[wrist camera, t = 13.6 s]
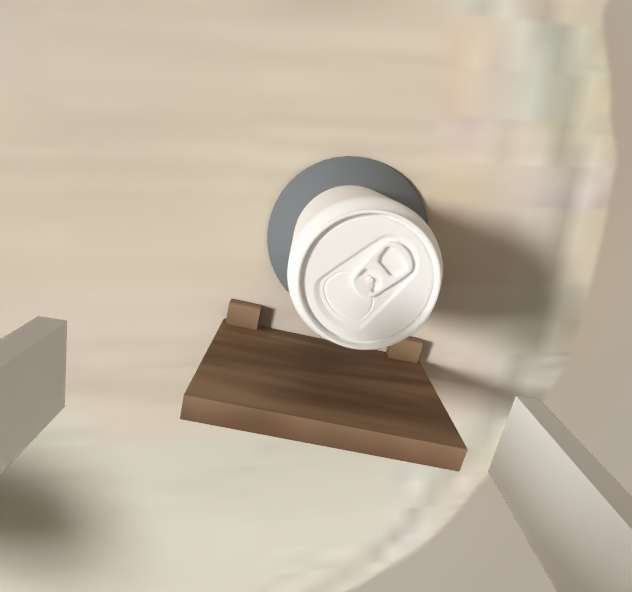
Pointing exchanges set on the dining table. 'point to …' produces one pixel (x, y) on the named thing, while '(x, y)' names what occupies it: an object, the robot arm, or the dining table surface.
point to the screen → (322, 393)
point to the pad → (324, 179)
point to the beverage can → (363, 268)
